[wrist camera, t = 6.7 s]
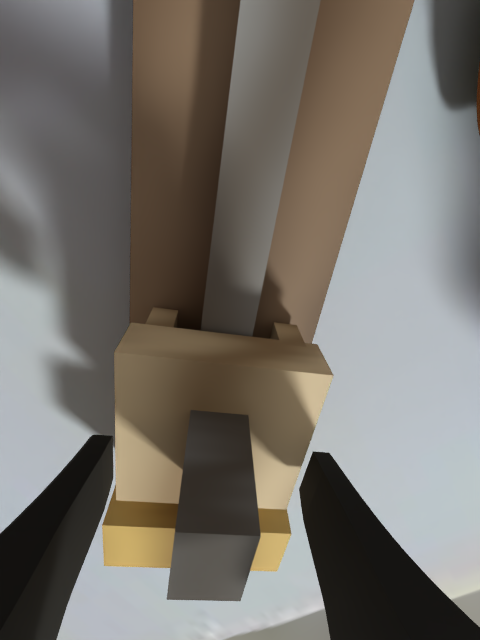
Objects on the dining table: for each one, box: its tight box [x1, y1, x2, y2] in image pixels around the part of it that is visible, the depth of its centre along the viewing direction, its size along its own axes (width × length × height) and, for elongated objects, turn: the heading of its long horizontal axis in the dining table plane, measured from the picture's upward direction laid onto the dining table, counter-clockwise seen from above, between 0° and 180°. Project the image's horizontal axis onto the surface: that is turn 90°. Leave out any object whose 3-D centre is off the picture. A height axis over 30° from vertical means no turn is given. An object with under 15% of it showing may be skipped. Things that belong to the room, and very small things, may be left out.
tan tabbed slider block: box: [114, 307, 333, 601], centre depth 11 cm, size 7×7×8 cm
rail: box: [102, 0, 414, 571], centre depth 11 cm, size 8×28×6 cm, turn 171°
